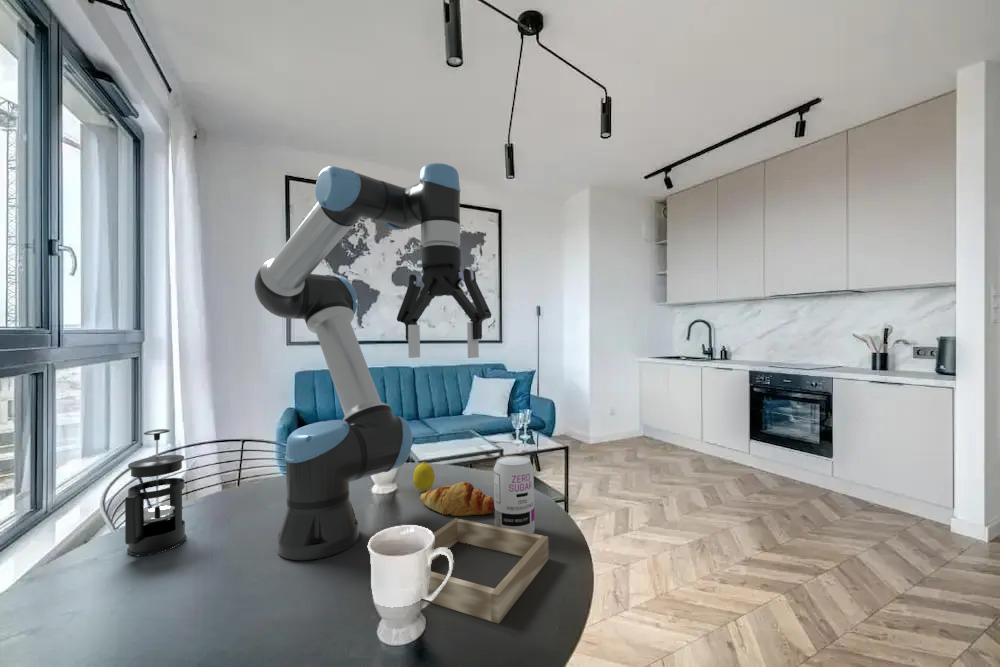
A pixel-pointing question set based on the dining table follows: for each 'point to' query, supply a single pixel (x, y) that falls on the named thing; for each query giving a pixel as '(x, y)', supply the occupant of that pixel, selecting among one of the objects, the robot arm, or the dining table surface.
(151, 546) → the french press
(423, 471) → the lemon
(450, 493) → the croissant
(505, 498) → the supplement can
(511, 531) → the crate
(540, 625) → the dining table surface
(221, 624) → the dining table surface
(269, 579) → the dining table surface
